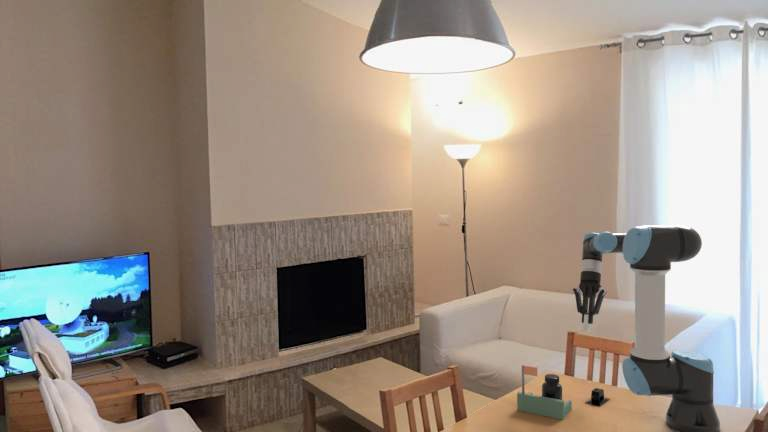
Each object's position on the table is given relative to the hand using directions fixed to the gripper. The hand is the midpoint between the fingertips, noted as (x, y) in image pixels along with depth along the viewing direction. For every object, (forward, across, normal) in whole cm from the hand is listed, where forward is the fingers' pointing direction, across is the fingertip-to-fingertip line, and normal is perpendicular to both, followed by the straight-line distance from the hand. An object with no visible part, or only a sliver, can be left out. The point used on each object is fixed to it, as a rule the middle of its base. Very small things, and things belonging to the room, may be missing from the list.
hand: (586, 332), depth 219 cm
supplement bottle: (+30, 0, +21) cm, 37 cm away
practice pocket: (+30, +3, +23) cm, 38 cm away
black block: (+25, -8, +4) cm, 27 cm away
